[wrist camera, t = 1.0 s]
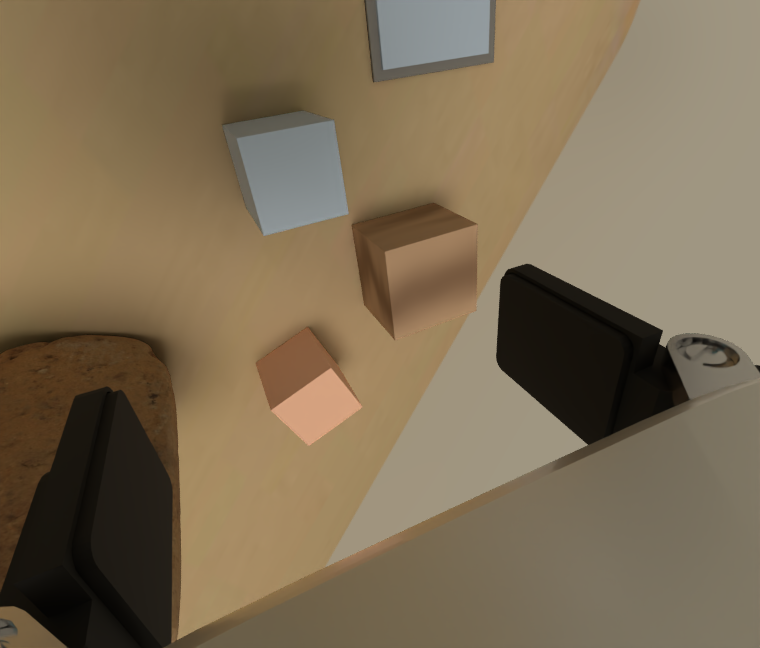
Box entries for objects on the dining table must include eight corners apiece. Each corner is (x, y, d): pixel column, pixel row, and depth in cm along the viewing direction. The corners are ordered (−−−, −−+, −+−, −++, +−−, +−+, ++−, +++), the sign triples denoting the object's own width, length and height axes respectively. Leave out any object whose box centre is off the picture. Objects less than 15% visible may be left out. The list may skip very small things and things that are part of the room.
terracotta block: (255, 362, 34) (270, 410, 29) (307, 326, 34) (331, 367, 29) (289, 397, 37) (308, 445, 32) (337, 364, 37) (362, 407, 33)
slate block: (221, 124, 25) (236, 138, 20) (302, 110, 27) (333, 120, 22) (246, 207, 28) (263, 235, 23) (318, 190, 29) (348, 213, 25)
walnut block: (351, 224, 32) (384, 251, 27) (432, 202, 34) (477, 224, 29) (363, 304, 36) (395, 340, 31) (436, 280, 37) (476, 310, 33)
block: (178, 334, 30) (200, 624, 14) (166, 418, 33) (174, 737, 17) (-27, 322, 25) (-348, 763, 9) (-20, 424, 27) (-256, 895, 12)
